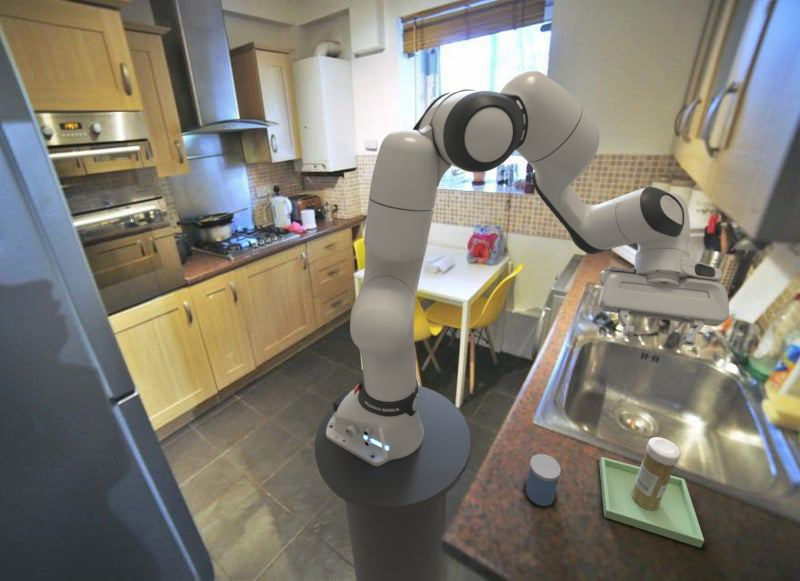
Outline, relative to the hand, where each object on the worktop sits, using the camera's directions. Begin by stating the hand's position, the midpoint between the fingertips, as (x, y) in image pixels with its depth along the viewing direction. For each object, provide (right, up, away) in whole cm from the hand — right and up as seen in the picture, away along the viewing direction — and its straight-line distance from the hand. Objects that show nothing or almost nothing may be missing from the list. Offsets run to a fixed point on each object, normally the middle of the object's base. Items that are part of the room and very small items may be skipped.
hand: (657, 339), depth 67 cm
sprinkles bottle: (-2, -30, 0) cm, 30 cm away
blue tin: (-21, -30, +2) cm, 36 cm away
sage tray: (-2, -30, +1) cm, 30 cm away
